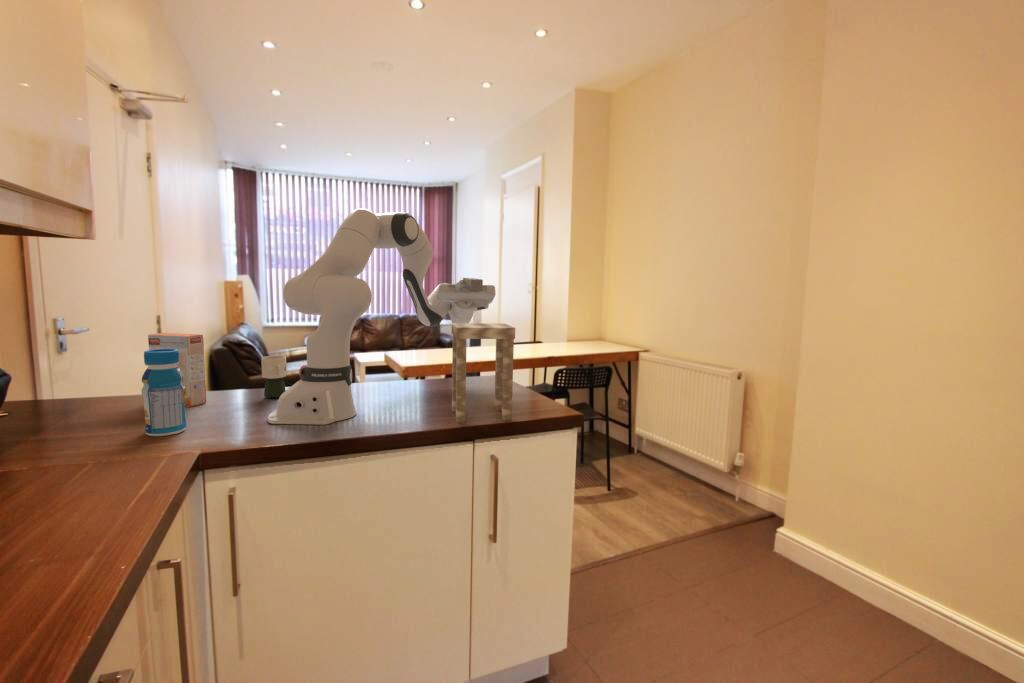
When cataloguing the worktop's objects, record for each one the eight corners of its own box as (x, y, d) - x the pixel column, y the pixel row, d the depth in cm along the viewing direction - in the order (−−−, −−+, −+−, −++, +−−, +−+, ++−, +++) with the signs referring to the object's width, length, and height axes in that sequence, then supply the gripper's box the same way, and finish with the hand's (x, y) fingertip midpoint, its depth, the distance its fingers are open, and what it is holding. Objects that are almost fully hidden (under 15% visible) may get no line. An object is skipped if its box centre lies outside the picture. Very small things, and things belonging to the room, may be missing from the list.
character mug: (292, 398, 150) (291, 358, 148) (268, 402, 145) (267, 360, 144) (281, 392, 158) (279, 354, 156) (257, 395, 153) (256, 356, 151)
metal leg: (471, 290, 144) (471, 279, 144) (462, 287, 165) (462, 277, 165) (482, 291, 145) (482, 279, 144) (472, 288, 166) (472, 277, 166)
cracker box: (207, 403, 142) (204, 334, 140) (190, 408, 137) (186, 336, 134) (170, 399, 146) (166, 331, 143) (151, 404, 140) (146, 333, 137)
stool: (455, 422, 128) (456, 327, 125) (450, 409, 142) (451, 323, 139) (513, 420, 132) (515, 327, 129) (503, 407, 145) (504, 323, 142)
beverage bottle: (165, 438, 110) (160, 353, 108) (135, 435, 112) (129, 351, 109) (196, 428, 118) (191, 349, 116) (167, 425, 120) (162, 347, 118)
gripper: (435, 292, 173) (438, 272, 161) (490, 293, 178) (497, 274, 165) (436, 307, 171) (438, 289, 158) (492, 308, 175) (498, 290, 163)
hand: (469, 281), depth 162 cm, fingers closed on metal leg, 3 cm apart
